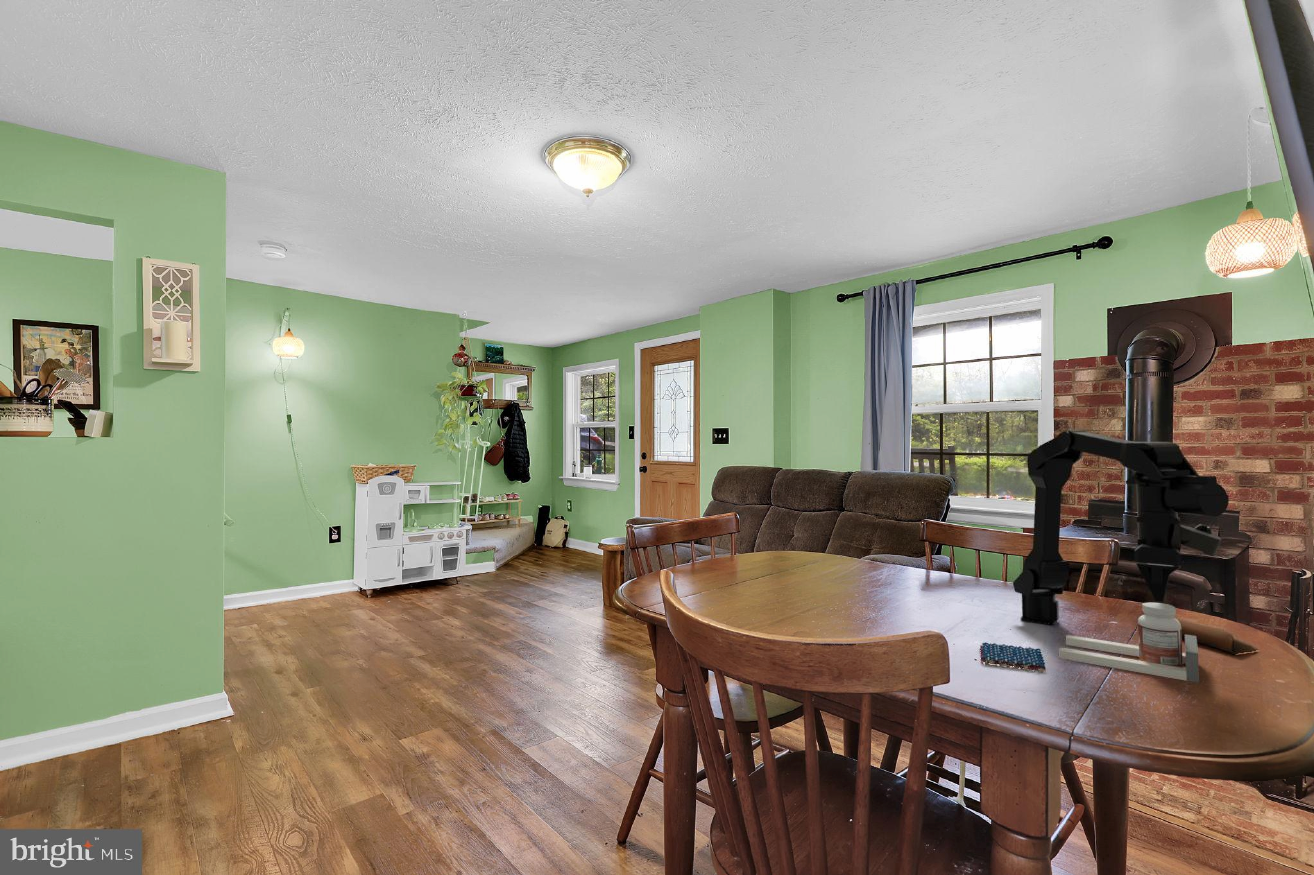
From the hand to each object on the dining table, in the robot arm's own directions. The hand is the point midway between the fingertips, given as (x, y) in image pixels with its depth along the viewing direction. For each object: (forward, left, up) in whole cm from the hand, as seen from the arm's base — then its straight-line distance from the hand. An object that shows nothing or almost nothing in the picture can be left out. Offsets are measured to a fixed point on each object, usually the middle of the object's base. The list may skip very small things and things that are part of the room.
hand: (1159, 596), depth 112 cm
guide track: (-5, 0, -13) cm, 14 cm away
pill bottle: (0, 0, -13) cm, 13 cm away
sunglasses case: (+6, +24, -14) cm, 28 cm away
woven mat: (-22, -12, -14) cm, 29 cm away
